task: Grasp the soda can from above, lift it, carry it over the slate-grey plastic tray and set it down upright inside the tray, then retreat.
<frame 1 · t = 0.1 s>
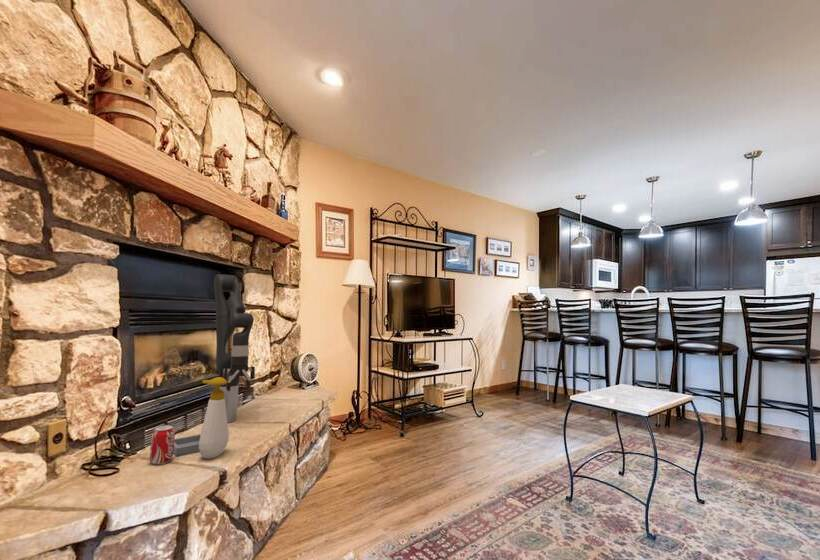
hand: (238, 389, 178), 17 cm above the countertop, tool pointing down, fingers open, 8 cm apart
soda can: (161, 462, 135), on the countertop
tray: (189, 448, 148), on the countertop
soap bottle: (210, 455, 142), on the countertop
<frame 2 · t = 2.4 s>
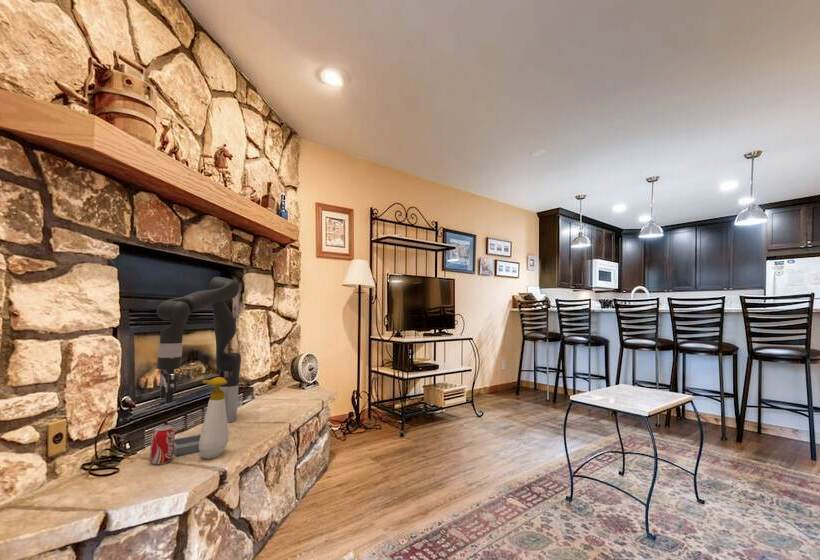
hand: (166, 400, 137), 22 cm above the countertop, tool pointing down, fingers open, 8 cm apart
nothing on the countertop moved.
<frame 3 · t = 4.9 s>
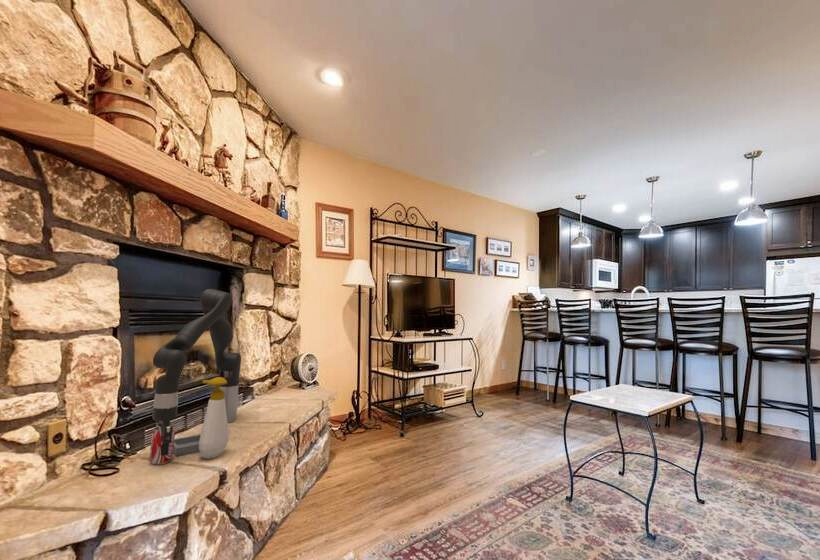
hand: (162, 451, 135), 3 cm above the countertop, tool pointing down, fingers closed on soda can, 7 cm apart
soda can: (161, 462, 135), on the countertop, touching gripper
everything else where it was.
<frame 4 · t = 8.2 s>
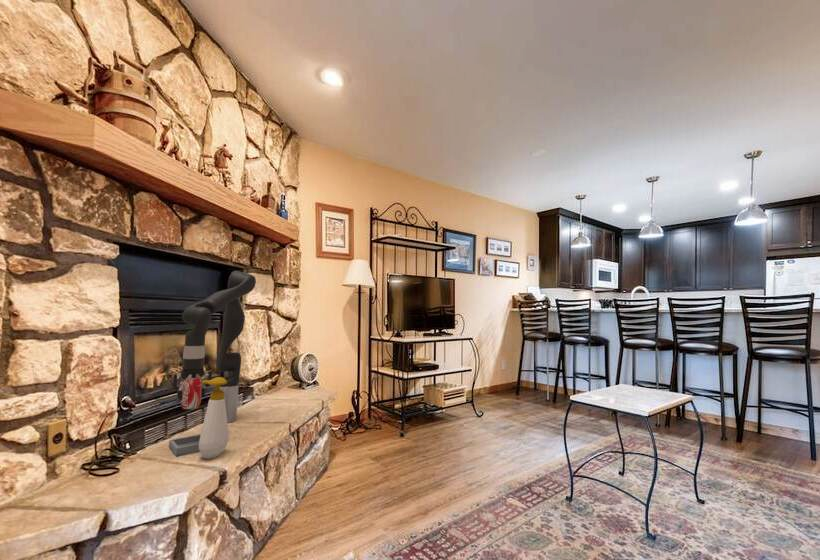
hand: (190, 398, 150), 19 cm above the countertop, tool pointing down, fingers closed on soda can, 7 cm apart
soda can: (190, 407, 150), point 16 cm above the countertop, touching gripper
everything else where it was.
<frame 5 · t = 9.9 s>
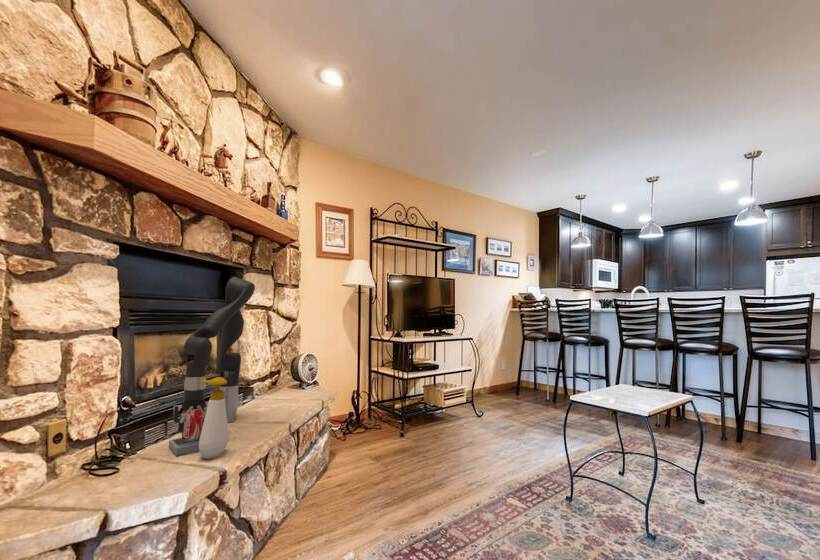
hand: (191, 430, 149), 7 cm above the countertop, tool pointing down, fingers closed on soda can, 7 cm apart
soda can: (191, 439, 149), point 3 cm above the countertop, touching gripper
everything else where it was.
when the fingers open (6 cm above the countertop, at t = 11.2 s): soda can drops 1 cm, resting on tray.
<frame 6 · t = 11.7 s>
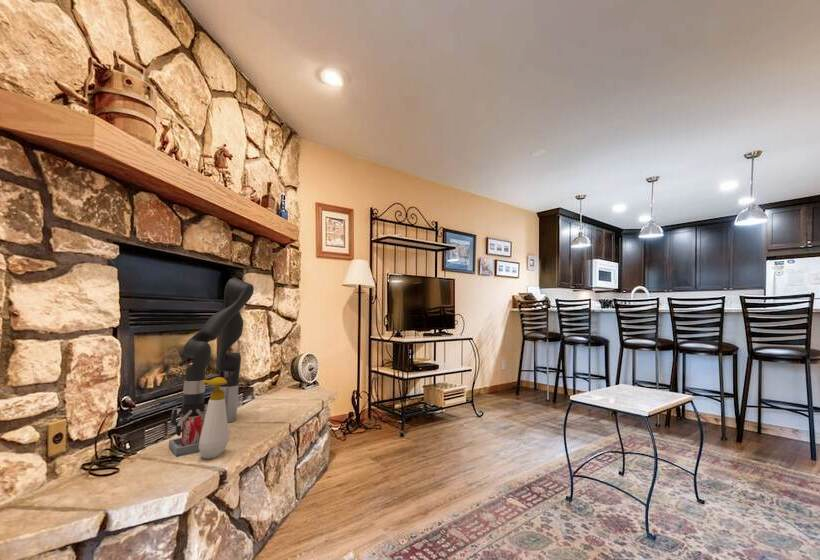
hand: (191, 433, 149), 6 cm above the countertop, tool pointing down, fingers open, 8 cm apart
soda can: (191, 446, 149), point 1 cm above the countertop, touching tray
everything else where it was.
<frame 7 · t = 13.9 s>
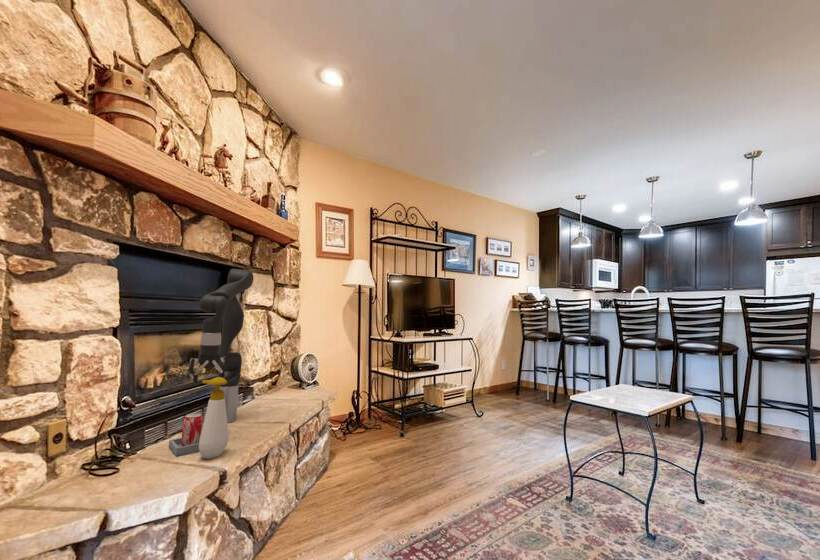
hand: (207, 382, 156), 25 cm above the countertop, tool pointing down, fingers open, 8 cm apart
nothing on the countertop moved.
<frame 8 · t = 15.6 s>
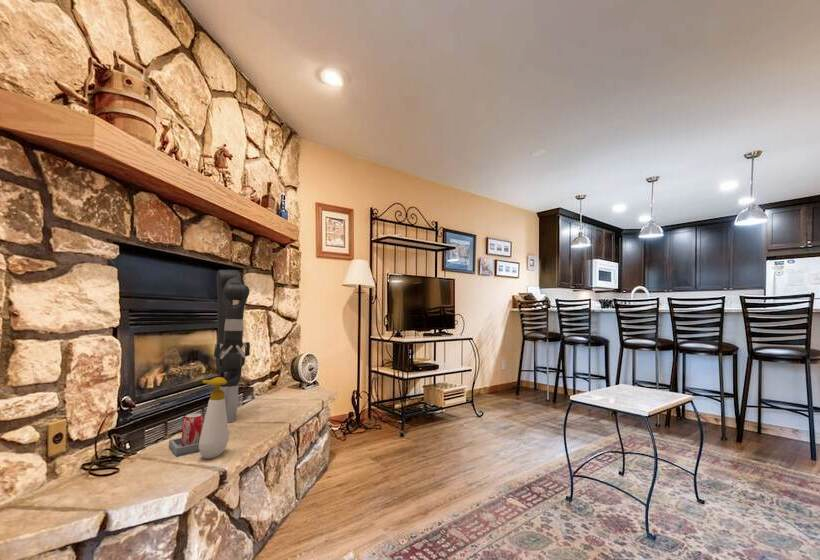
hand: (231, 366, 164), 30 cm above the countertop, tool pointing down, fingers open, 8 cm apart
nothing on the countertop moved.
at the end: soda can 0.5 cm off-centre on the tray, point 0.6 cm above the tray's base; soda can tilted 0°; the gripper is holding nothing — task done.
